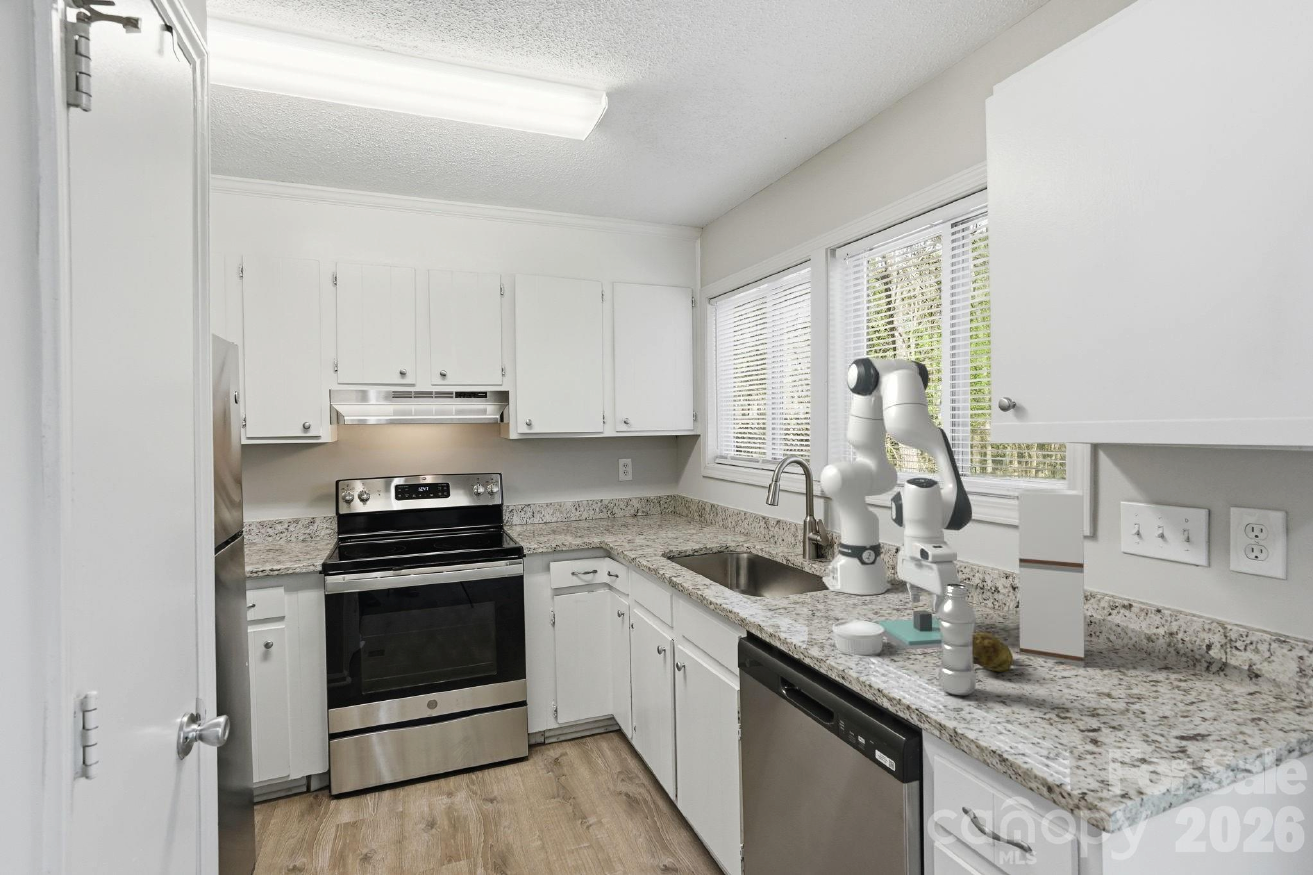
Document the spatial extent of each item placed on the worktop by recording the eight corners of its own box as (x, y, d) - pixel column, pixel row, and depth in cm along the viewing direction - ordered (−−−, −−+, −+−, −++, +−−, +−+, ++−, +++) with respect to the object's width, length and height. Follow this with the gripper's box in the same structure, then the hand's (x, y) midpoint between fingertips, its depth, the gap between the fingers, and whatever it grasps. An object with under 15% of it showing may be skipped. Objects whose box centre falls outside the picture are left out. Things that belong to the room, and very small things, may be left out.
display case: (1084, 651, 142) (1083, 490, 141) (1084, 667, 133) (1082, 495, 133) (1024, 642, 148) (1022, 488, 148) (1019, 657, 140) (1018, 492, 139)
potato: (1031, 671, 132) (1031, 631, 132) (989, 683, 126) (988, 642, 126) (994, 658, 139) (993, 620, 139) (952, 669, 134) (951, 630, 133)
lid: (878, 624, 162) (877, 605, 162) (935, 621, 164) (935, 602, 164) (908, 644, 147) (908, 623, 147) (971, 640, 149) (971, 619, 149)
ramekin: (848, 639, 154) (847, 616, 154) (894, 649, 146) (894, 626, 146) (823, 651, 146) (822, 627, 146) (870, 663, 138) (870, 638, 138)
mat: (864, 624, 164) (864, 622, 164) (939, 620, 166) (939, 617, 166) (903, 651, 144) (903, 649, 144) (988, 646, 147) (988, 643, 147)
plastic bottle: (976, 688, 124) (974, 582, 124) (977, 702, 118) (976, 591, 117) (938, 683, 127) (937, 580, 126) (938, 696, 120) (936, 588, 120)
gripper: (889, 541, 165) (891, 596, 164) (935, 555, 144) (936, 618, 144) (913, 540, 165) (915, 595, 165) (961, 554, 145) (963, 616, 145)
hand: (925, 606), depth 155 cm, fingers open, 8 cm apart
